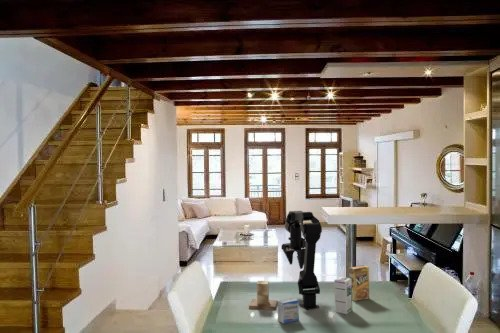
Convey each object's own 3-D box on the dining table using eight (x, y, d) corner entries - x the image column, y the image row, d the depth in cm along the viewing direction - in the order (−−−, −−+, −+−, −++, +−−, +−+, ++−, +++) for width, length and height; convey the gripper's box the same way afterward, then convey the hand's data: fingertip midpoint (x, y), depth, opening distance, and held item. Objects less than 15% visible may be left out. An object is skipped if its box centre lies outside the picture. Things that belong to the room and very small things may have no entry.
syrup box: (347, 314, 190) (346, 281, 189) (334, 311, 193) (334, 279, 193) (352, 310, 194) (352, 278, 194) (340, 308, 198) (339, 276, 197)
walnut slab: (277, 304, 206) (277, 300, 206) (275, 311, 197) (275, 306, 197) (252, 303, 208) (252, 299, 208) (248, 309, 199) (248, 305, 199)
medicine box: (283, 324, 180) (282, 303, 180) (277, 320, 184) (277, 300, 184) (299, 320, 184) (298, 300, 183) (293, 317, 188) (293, 297, 187)
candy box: (354, 301, 206) (354, 269, 206) (349, 298, 210) (348, 266, 210) (369, 298, 210) (369, 266, 209) (364, 296, 214) (363, 264, 213)
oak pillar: (268, 301, 204) (268, 280, 204) (268, 304, 199) (267, 283, 199) (258, 301, 205) (257, 280, 205) (257, 304, 200) (256, 283, 200)
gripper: (320, 237, 215) (320, 268, 216) (298, 231, 232) (299, 260, 232) (301, 239, 210) (301, 272, 211) (280, 233, 226) (281, 263, 227)
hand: (296, 266), depth 220 cm, fingers open, 9 cm apart
